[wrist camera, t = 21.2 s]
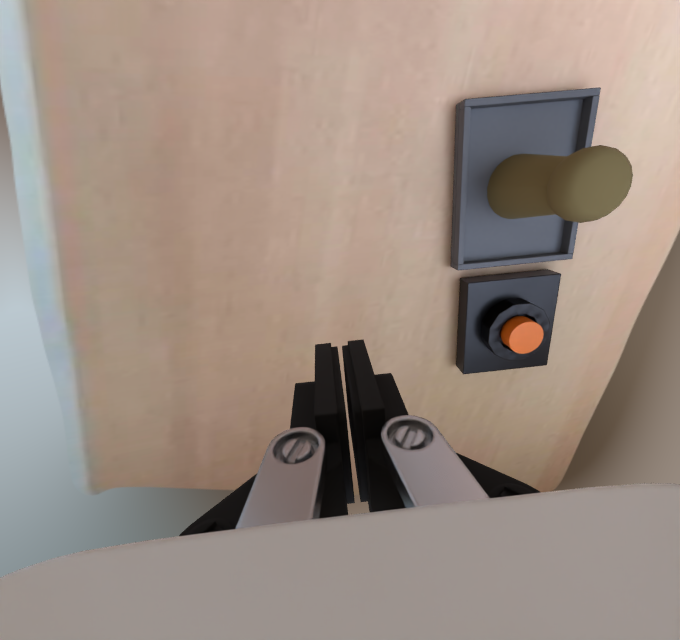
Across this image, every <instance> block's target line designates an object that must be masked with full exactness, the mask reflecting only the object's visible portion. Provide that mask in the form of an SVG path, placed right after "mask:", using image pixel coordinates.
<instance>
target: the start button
mask: <svg viewBox="0 0 680 640" xmlns="http://www.w3.org/2000/svg"><path fill="white" fill-rule="evenodd" d="M543 335H544V333H543V329H542V327H541V326H540V325H539V324H538V323H536V322H534V321H533V320H531V319H529V318H528V317H525V316H516V317H513V318H511V319H509V320H508V321H507V322H506V323H505V324H504V325H503V327H502V329H501V340H502V341H503V343H504V344H505V345H507V346H508V347H509V348H510V349H512V350H513V351H514V352H516V353H520V354H525V353H529V352H531V351H533V350H535V349H536V348H537V347H538V346H539V345H540V344H541V342H542V340H543Z"/></svg>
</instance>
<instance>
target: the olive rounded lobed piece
mask: <svg viewBox="0 0 680 640" xmlns="http://www.w3.org/2000/svg"><path fill="white" fill-rule="evenodd" d="M632 177H633V174H632V166H631V164H630V162H629V160H628V158H627V157H626V156H625V155H624V154H623V153H622V152H620V151H619V150H618V149H616V148H612V147H607V146H602V145H599V146H593V147H587V148H583V149H581V150H579V151H577V152H575V153H573V154H571V155H569V156H554V155H538V154H518V155H513V156H511V157H509V158H507V159H505V160H504V161H503V162H501V163H500V164H499V165H498V166H497V167H496V169H495V170H494V172H493V173H492V175H491V177H490V180H489V183H488V186H487V198H488V202H489V205H490V207H491V208H492V210H493V211H494V212H495V213H496V214H497V215H499V216H500V217H502V218H507V219H518V218H527V217H537V216H546V215H555V214H556V215H558V216H559V217H561V218H562V219H564V220H567V221H572V222H579V223H582V222H589V221H594V220H598V219H600V218H602V217H604V216H606V215H608V214H609V213H611V212H612V211H613V210H614V209H616V208H617V207H618V206H619V205H620V204H621V203H622V201H623V200H624V199H625V197H626V196H627V194H628V191H629V189H630V187H631V183H632Z"/></svg>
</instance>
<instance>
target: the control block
mask: <svg viewBox="0 0 680 640" xmlns="http://www.w3.org/2000/svg"><path fill="white" fill-rule="evenodd" d="M560 277H561V274H560V273H557V272H554V271H551V270H548V269H547V270H537V271H527V272H517V273H507V274H497V275H487V276H478V277H468V278H460V292H459V314H458V336H457V358H456V366H457V367H458V368H459V369H460V371H461V372H462V373H463V374H470V373H479V372H488V371H497V370H506V369H515V368H525V367H534V366H543V365H547V360H548V354H549V347H550V341H551V335H552V328H553V322H554V315H555V309H556V303H557V296H558V290H559V284H560ZM516 316H525V317H528V318H529V319H531V320H533V321H534V322H536V323H538V324H539V325H540V326H541V327H542V329H543V333H544V335H543V340H542V342H541V344H540V345H539V346H538V347H537V348H536V349H535V350H533V351H531V352H529V353H525V354H520V353H516V352H514V351H513V350H512V349H510V348H509V347H508V346H507V345H505V344H504V343H503V341H502V340H501V329H502V327H503V325H504V324H505V323H506V322H507V321H508V320H509V319H511V318H513V317H516Z"/></svg>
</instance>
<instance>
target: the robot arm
mask: <svg viewBox="0 0 680 640" xmlns="http://www.w3.org/2000/svg"><path fill="white" fill-rule="evenodd" d="M342 350H343V361H344V372H345V382H346V393H347V404H348V414H349V422H350V429H351V436H352V444H353V451H354V458H355V465H356V472H357V479H358V486H359V494H360V500H361V502H366V501H368V504H369V511H370V513H361V514H354V515H348V510H347V504H349V503H355V502H354V491H353V481H352V471H351V460H350V450H349V439H348V429H347V419H346V410H345V402H344V394H343V387H342V379H341V371H340V363H339V356H338V348H337V347H331V343H326V344H317V345H315V381H314V382H305V383H296V384H295V390H294V399H293V408H292V416H291V425H290V429H289V430H286V431H284V432H282V433H280V434H278V435H277V436H276V437H275V438H274V439H273V440H272V441H271V442H270V444H269V446H268V448H267V450H266V453H265V455H264V458H263V460H262V463H261V465H260V468H259V470H258V473H257V474H256V475H254V476H253V477H252V478H251V479H249V480H248V481H247V482H245V483H244V484H243V485H242V486H240V487H239V488H238V489H236V490H235V491H234V492H233V493H231V494H230V495H229V496H227V497H226V498H225V499H223V500H222V501H221V502H220V503H219V504H217V505H216V506H214V507H213V508H212V509H210V510H209V511H208V512H207V513H205V514H204V515H203V516H201V517H200V518H199V519H197V520H196V521H195V522H194V523H192V524H191V525H190V526H189V527H188V528H187V529H186V530H184V531H183V532H182V533H181V534H180V536H178V537H171V538H163V539H155V540H147V541H141V542H135V543H129V544H123V545H117V546H111V547H105V548H99V549H93V550H86V551H82V552H78V553H73V554H69V555H65V556H61V557H57V558H53V559H50V560H47V561H44V562H41V563H38V564H34V565H31V566H28V567H25V568H22V569H19V570H17V571H15V572H12V573H10V574H8V575H5V576H3V577H0V640H680V484H629V485H616V486H602V487H589V488H579V489H571V490H561V491H551V492H542V493H541V492H539V491H538V490H536V489H534V488H533V487H531V486H529V485H527V484H525V483H523V482H521V481H518V480H516V479H514V478H512V477H509V476H507V475H505V474H503V473H500V472H498V471H496V470H494V469H491V468H489V467H487V466H485V465H483V464H480V463H478V462H476V461H474V460H471V459H469V458H467V457H465V456H462V455H460V454H458V453H456V452H455V451H454V450H453V449H452V447H451V446H450V445H449V443H448V442H447V441H446V439H445V438H444V437H443V435H442V434H441V433H440V431H439V430H438V429H437V427H436V426H435V425H434V424H433V423H431V422H430V421H428V420H426V419H424V418H421V417H418V416H411V415H408V412H407V410H406V408H405V405H404V403H403V400H402V398H401V395H400V393H399V391H398V388H397V386H396V383H395V381H394V378H393V376H392V374H391V373H387V374H378V375H374V372H373V369H372V366H371V362H370V359H369V356H368V353H367V350H366V346H365V343H364V340H355V341H348V345H346V346H342Z"/></svg>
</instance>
